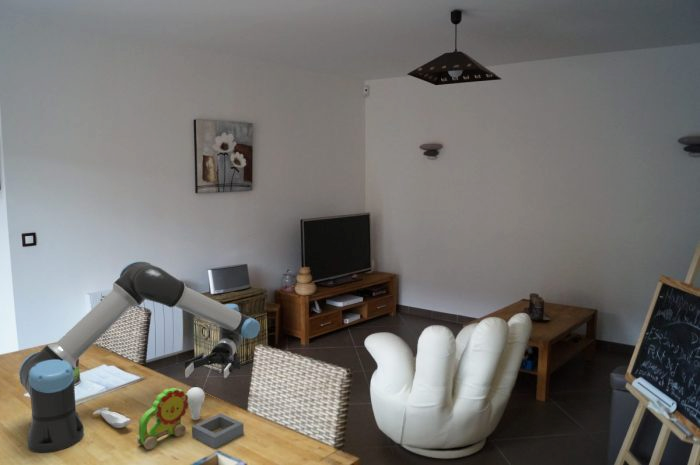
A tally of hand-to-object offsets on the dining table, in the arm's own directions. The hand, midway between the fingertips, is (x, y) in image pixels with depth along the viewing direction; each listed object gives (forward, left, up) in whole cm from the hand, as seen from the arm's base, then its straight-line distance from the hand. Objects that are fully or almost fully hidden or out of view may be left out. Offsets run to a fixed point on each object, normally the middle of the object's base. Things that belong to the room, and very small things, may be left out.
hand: (205, 373), depth 185 cm
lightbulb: (-8, -6, -12) cm, 16 cm away
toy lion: (-21, -8, -12) cm, 26 cm away
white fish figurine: (-26, +13, -12) cm, 32 cm away
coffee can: (-21, +58, -12) cm, 63 cm away
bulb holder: (-10, -20, -12) cm, 25 cm away
